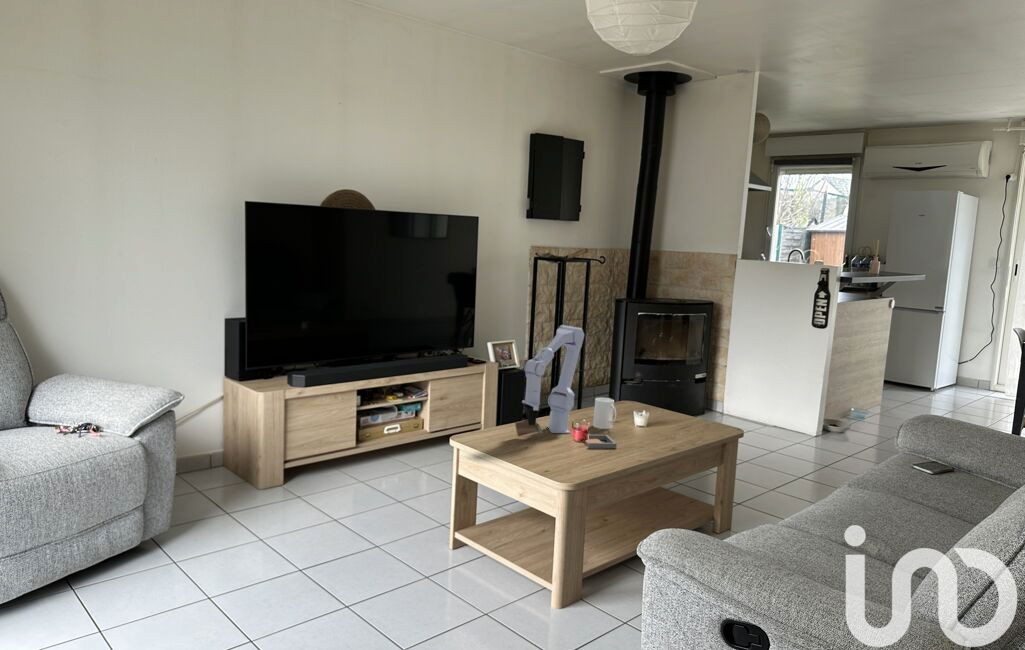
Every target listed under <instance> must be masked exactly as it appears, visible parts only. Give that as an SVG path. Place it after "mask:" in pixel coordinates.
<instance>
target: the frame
mask: <svg viewBox="0 0 1025 650" xmlns="http://www.w3.org/2000/svg"><path fill="white" fill-rule="evenodd" d="M588 435H589V439H599V440H600V441H605V440H606V441H607V442H606V441H605V442H602V443H589V446H588V449H604V448H616V449H617V445H618V443H617V442H616V441H615V440H613V438H611V437H610V436H609V435H608V434H588Z"/></svg>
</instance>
